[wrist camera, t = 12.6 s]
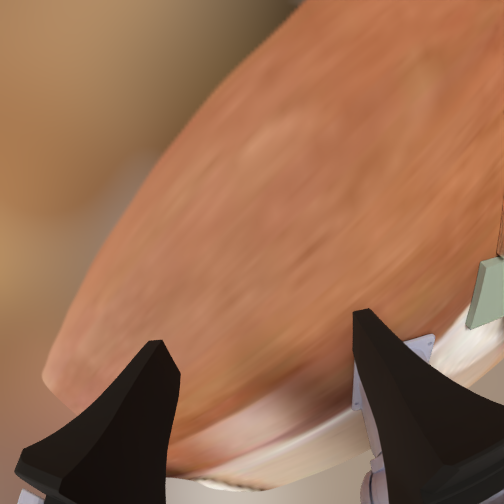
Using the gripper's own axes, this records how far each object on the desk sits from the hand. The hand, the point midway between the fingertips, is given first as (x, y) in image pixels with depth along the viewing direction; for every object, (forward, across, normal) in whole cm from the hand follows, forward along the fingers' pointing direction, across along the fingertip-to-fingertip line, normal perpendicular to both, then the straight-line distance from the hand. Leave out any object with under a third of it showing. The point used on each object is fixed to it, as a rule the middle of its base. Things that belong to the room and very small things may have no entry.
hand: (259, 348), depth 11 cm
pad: (+9, -25, +9) cm, 28 cm away
